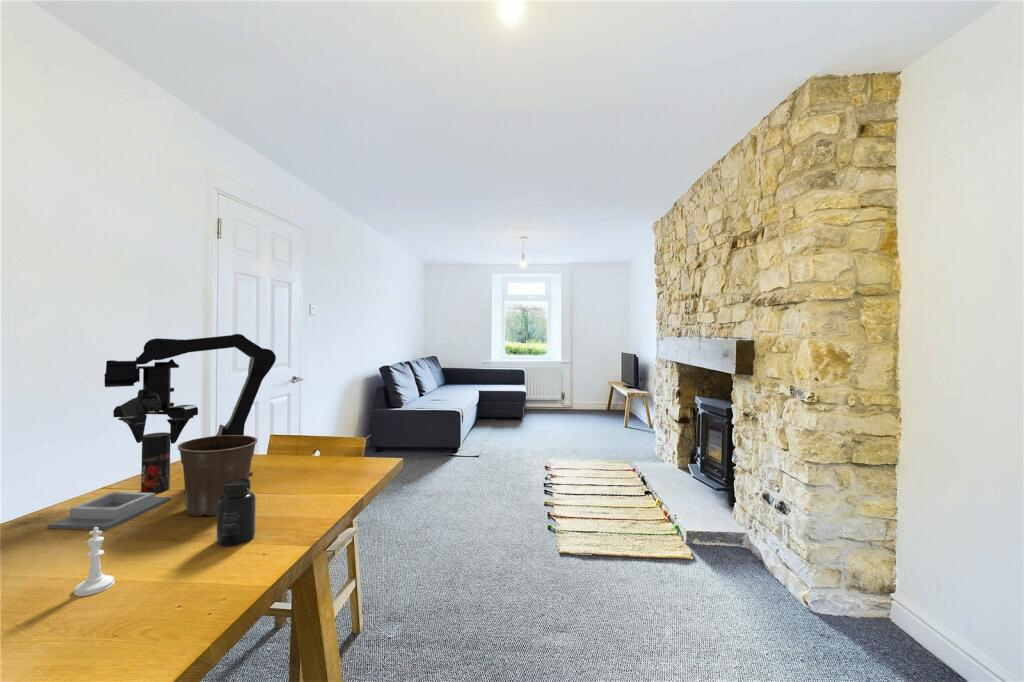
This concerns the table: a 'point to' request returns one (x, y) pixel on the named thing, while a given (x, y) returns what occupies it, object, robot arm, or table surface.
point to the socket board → (109, 510)
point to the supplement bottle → (236, 513)
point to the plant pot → (213, 468)
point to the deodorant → (155, 463)
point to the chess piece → (94, 569)
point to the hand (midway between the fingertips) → (156, 442)
